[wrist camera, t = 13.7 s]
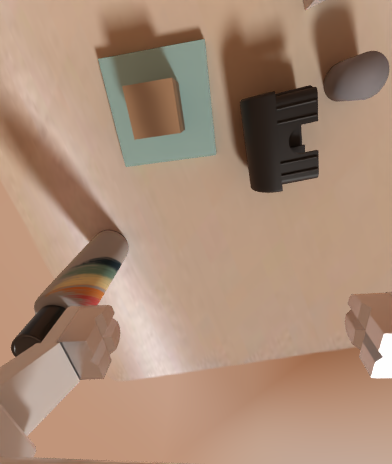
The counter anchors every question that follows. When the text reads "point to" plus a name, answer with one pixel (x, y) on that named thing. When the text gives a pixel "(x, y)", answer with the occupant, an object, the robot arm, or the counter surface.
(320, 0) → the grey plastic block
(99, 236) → the lotion bottle
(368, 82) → the grey rounded piece
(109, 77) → the teal board
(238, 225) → the counter surface
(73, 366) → the robot arm
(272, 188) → the end cap
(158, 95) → the walnut block
